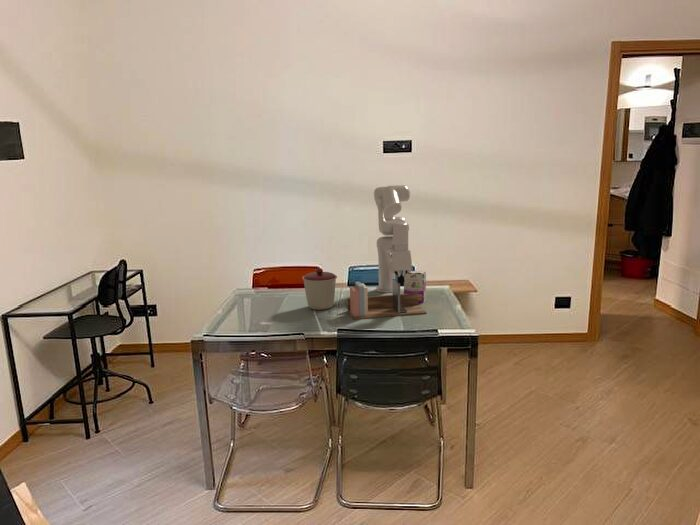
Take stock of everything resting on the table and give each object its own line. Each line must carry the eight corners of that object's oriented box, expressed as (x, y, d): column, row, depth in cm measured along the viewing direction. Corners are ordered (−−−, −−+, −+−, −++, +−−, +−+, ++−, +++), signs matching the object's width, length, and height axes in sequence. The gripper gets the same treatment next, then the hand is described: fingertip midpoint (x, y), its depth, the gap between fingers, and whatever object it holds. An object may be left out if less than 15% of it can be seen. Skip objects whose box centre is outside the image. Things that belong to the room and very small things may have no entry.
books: (350, 310, 269) (349, 282, 266) (363, 309, 270) (363, 281, 267) (354, 316, 259) (353, 286, 256) (368, 315, 260) (367, 285, 257)
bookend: (392, 307, 272) (392, 279, 269) (401, 306, 273) (401, 278, 270) (398, 312, 262) (397, 283, 259) (407, 312, 263) (407, 282, 260)
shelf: (347, 311, 271) (347, 298, 270) (417, 305, 278) (417, 293, 277) (353, 319, 257) (353, 306, 256) (426, 313, 264) (426, 300, 262)
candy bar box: (426, 301, 287) (426, 271, 283) (423, 303, 282) (423, 273, 279) (406, 299, 291) (406, 270, 288) (403, 301, 287) (403, 272, 283)
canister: (333, 312, 269) (332, 272, 265) (299, 311, 272) (297, 271, 268) (341, 303, 286) (340, 265, 282) (308, 302, 290) (307, 264, 286)
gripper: (387, 249, 257) (388, 286, 260) (417, 248, 259) (417, 284, 263) (384, 247, 264) (384, 283, 267) (412, 245, 266) (412, 281, 270)
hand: (400, 283), depth 265 cm, fingers closed
